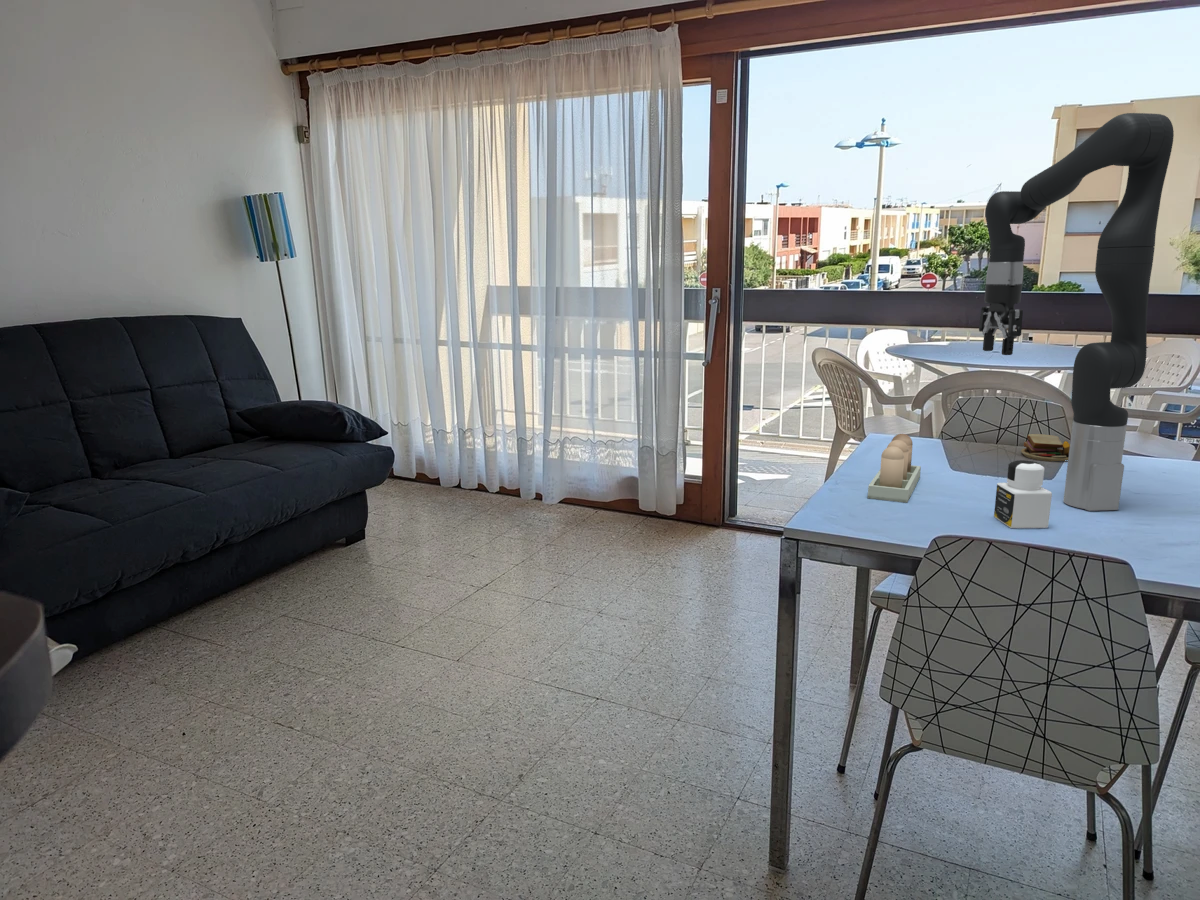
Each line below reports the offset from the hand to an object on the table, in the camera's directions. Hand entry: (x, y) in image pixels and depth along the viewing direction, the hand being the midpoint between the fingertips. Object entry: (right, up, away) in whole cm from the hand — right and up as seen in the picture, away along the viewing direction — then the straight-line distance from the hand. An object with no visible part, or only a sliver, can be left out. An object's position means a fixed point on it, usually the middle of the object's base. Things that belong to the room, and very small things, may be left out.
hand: (997, 352), depth 185 cm
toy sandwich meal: (+22, -25, +18) cm, 38 cm away
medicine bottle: (-12, -37, -33) cm, 51 cm away
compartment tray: (-27, -31, -8) cm, 42 cm away
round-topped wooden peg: (-24, -29, -2) cm, 38 cm away
